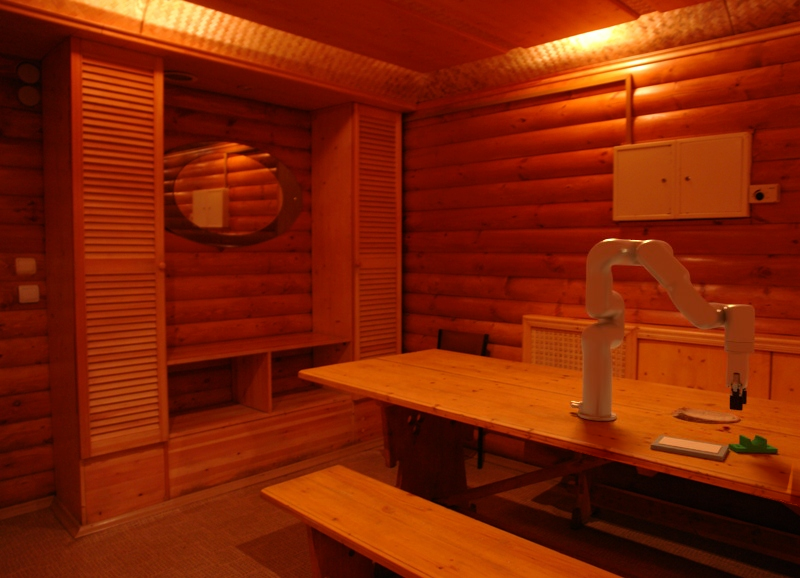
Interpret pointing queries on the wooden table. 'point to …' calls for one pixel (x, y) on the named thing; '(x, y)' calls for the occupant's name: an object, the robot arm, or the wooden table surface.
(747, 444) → the pipe clamp
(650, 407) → the wooden table surface
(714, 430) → the wooden table surface
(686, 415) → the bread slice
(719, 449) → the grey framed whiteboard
